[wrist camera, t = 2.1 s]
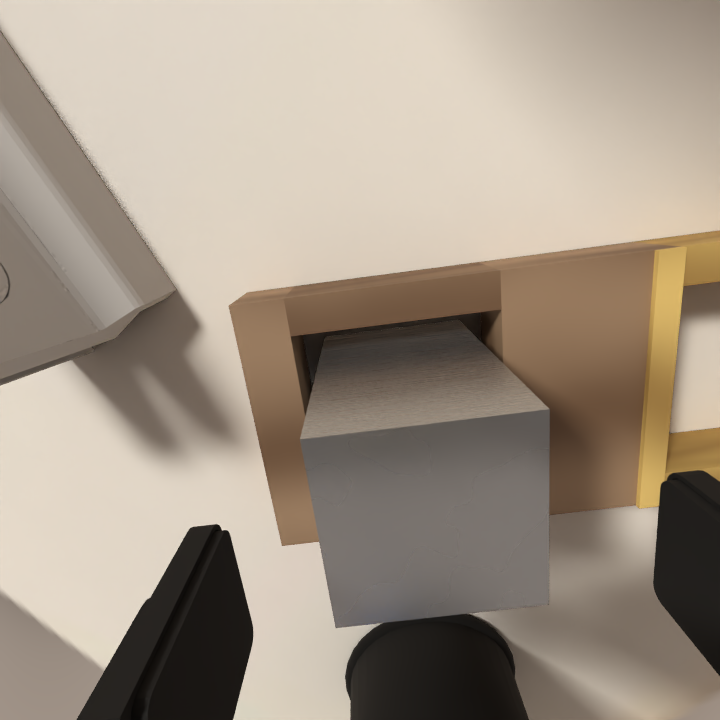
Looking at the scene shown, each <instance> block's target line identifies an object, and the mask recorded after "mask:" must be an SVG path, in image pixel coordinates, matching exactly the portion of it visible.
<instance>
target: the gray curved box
mask: <svg viewBox="0 0 720 720" xmlns="http://www.w3.org/2000/svg"><path fill="white" fill-rule="evenodd" d="M175 290H176V288H175V286H174V285H173V284H172V282H171V281H170V279H169V278H168V276H167V275H166V273H165V272H164V270H163V269H162V267H161V266H160V264H159V263H158V262H157V260H156V259H155V257H154V256H153V254H152V253H151V251H150V250H149V248H148V247H147V245H146V244H145V243H144V241H143V240H142V238H141V237H140V235H139V234H138V232H137V231H136V229H135V228H134V226H133V225H132V223H131V222H130V221H129V219H128V218H127V216H126V215H125V213H124V212H123V210H122V209H121V207H120V206H119V204H118V203H117V202H116V200H115V199H114V197H113V196H112V194H111V193H110V191H109V190H108V188H107V187H106V185H105V184H104V183H103V181H102V180H101V178H100V177H99V175H98V174H97V172H96V171H95V169H94V168H93V166H92V165H91V163H90V162H89V161H88V159H87V158H86V156H85V155H84V153H83V152H82V150H81V149H80V147H79V146H78V144H77V143H76V142H75V140H74V139H73V137H72V136H71V134H70V133H69V131H68V130H67V128H66V127H65V125H64V124H63V122H62V121H61V120H60V118H59V117H58V115H57V114H56V112H55V111H54V109H53V108H52V106H51V105H50V103H49V102H48V101H47V99H46V98H45V96H44V95H43V93H42V92H41V90H40V89H39V87H38V86H37V84H36V83H35V81H34V80H33V79H32V77H31V76H30V74H29V73H28V71H27V70H26V68H25V67H24V65H23V64H22V62H21V61H20V60H19V58H18V57H17V55H16V54H15V52H14V51H13V49H12V48H11V46H10V45H9V43H8V42H7V41H6V39H5V38H4V36H3V35H2V33H1V32H0V385H3V384H6V383H9V382H11V381H14V380H17V379H19V378H22V377H25V376H28V375H30V374H33V373H36V372H39V371H41V370H44V369H47V368H50V367H52V366H55V365H58V364H61V363H63V362H66V361H69V360H72V359H74V358H77V357H80V356H83V355H85V354H88V353H91V352H93V351H94V349H93V348H92V346H95V345H98V344H101V343H104V342H107V341H109V340H112V339H115V338H116V337H117V336H118V335H119V334H120V333H121V332H122V331H123V330H124V329H125V327H126V326H127V325H128V324H129V323H130V322H131V321H132V320H133V319H134V318H135V317H136V315H137V314H138V313H139V312H141V311H142V310H144V309H146V308H148V307H150V306H152V305H154V304H156V303H158V302H160V301H162V300H164V299H166V298H168V297H169V296H170V295H171V294H172V293H173V292H174V291H175Z"/></svg>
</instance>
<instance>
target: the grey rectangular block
mask: <svg viewBox="0 0 720 720" xmlns="http://www.w3.org/2000/svg"><path fill="white" fill-rule="evenodd" d="M300 443H301V448H302V453H303V458H304V464H305V469H306V474H307V479H308V485H309V490H310V495H311V500H312V506H313V511H314V516H315V521H316V527H317V532H318V537H319V543H320V548H321V553H322V558H323V564H324V569H325V574H326V579H327V585H328V590H329V595H330V600H331V606H332V611H333V616H334V621H335V627H336V628H340V627H349V626H358V625H368V624H377V623H386V622H395V621H404V620H413V619H422V618H431V617H440V616H450V615H459V614H468V613H477V612H486V611H495V610H504V609H513V608H523V607H532V606H541V605H549V444H550V409H549V408H548V407H547V406H546V405H545V404H544V403H543V402H542V401H541V400H540V399H539V398H538V397H537V396H536V395H535V394H534V393H533V392H532V391H531V390H530V389H529V388H528V387H527V386H526V385H525V384H524V383H523V382H522V381H521V380H520V379H519V378H518V377H516V376H515V375H514V374H513V373H512V372H511V371H510V370H509V369H508V368H507V367H506V366H505V365H504V364H503V363H502V362H501V361H500V360H499V359H498V358H497V357H496V356H495V355H494V354H493V353H492V352H491V351H490V350H489V349H488V348H487V347H486V346H485V345H484V344H483V343H482V342H481V341H480V340H479V339H478V338H477V337H476V336H475V335H474V334H473V333H472V332H471V331H470V330H469V329H468V328H467V327H466V326H465V325H464V324H463V323H462V322H461V321H460V320H452V321H445V322H437V323H429V324H421V325H413V326H406V327H398V328H390V329H382V330H374V331H366V332H359V333H351V334H343V335H335V336H327V337H325V338H324V342H323V346H322V351H321V355H320V359H319V363H318V367H317V371H316V375H315V379H314V384H313V388H312V392H311V396H310V400H309V404H308V408H307V412H306V416H305V421H304V425H303V429H302V433H301V437H300Z"/></svg>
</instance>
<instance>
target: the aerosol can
mask: <svg viewBox="0 0 720 720" xmlns="http://www.w3.org/2000/svg"><path fill="white" fill-rule="evenodd" d="M345 679H346V688H347V692H348V695H349V697H350V700H351V720H529V719H528V716H527V713H526V710H525V707H524V704H523V701H522V698H521V696H520V693H519V690H518V687H517V684H516V681H515V665H514V661H513V656H512V653H511V651H510V649H509V647H508V645H507V643H506V642H505V641H504V639H503V638H502V637H501V636H500V635H499V634H498V633H497V632H496V631H495V630H494V629H493V628H491V627H490V626H489V625H487V624H486V623H484V622H483V621H480V620H478V619H476V618H474V617H472V616H469V615H465V614H459V615H450V616H440V617H431V618H422V619H413V620H404V621H395V622H386V623H382V624H380V625H379V626H377V627H375V628H374V629H372V630H371V631H370V632H369V633H368V634H367V635H366V636H364V637H363V638H362V639H361V641H360V642H359V643H358V644H357V646H356V647H355V648H354V650H353V652H352V654H351V656H350V659H349V661H348V664H347V669H346V675H345Z"/></svg>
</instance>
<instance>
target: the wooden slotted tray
mask: <svg viewBox="0 0 720 720" xmlns="http://www.w3.org/2000/svg"><path fill="white" fill-rule="evenodd" d="M719 281H720V231H713V232H705V233H698V234H690V235H682V236H675V237H667V238H660V239H652V240H644V241H637V242H629V243H621V244H614V245H606V246H599V247H591V248H583V249H576V250H568V251H560V252H553V253H545V254H538V255H530V256H522V257H515V258H507V259H500V260H492V261H484V262H477V263H469V264H461V265H454V266H446V267H439V268H431V269H423V270H416V271H408V272H400V273H393V274H385V275H378V276H370V277H362V278H355V279H347V280H340V281H332V282H324V283H317V284H309V285H301V286H294V287H286V288H279V289H271V290H263V291H256V292H248V293H246V294H245V295H243V296H242V297H240V298H239V299H238V300H236V301H235V302H233V303H232V304H231V305H229V309H230V314H231V318H232V323H233V327H234V332H235V336H236V341H237V345H238V350H239V354H240V359H241V363H242V368H243V372H244V377H245V381H246V386H247V390H248V395H249V399H250V404H251V408H252V413H253V417H254V422H255V426H256V431H257V435H258V440H259V444H260V449H261V453H262V458H263V462H264V467H265V471H266V476H267V480H268V485H269V489H270V494H271V498H272V503H273V507H274V512H275V516H276V521H277V525H278V530H279V534H280V539H281V543H282V546H285V545H294V544H303V543H311V542H319V537H318V532H317V527H316V521H315V516H314V511H313V506H312V500H311V495H310V490H309V485H308V479H307V474H306V469H305V464H304V458H303V453H302V448H301V443H300V437H301V433H302V429H303V425H304V421H305V416H306V412H307V408H308V404H309V400H310V396H311V392H312V386H311V380H310V374H309V369H308V363H307V357H306V351H305V346H304V340H303V335H306V334H314V333H321V332H329V331H337V330H345V329H353V328H360V327H368V326H376V325H384V324H392V323H399V322H407V321H415V320H423V319H431V318H438V317H446V316H454V315H462V314H470V313H477V312H480V313H481V335H482V343H483V344H484V345H485V346H486V347H487V348H488V349H489V350H490V351H491V352H492V353H493V354H494V355H495V356H496V357H497V358H498V359H499V360H500V361H501V362H502V363H503V364H504V365H505V366H506V367H507V368H508V369H509V370H510V371H511V372H512V373H513V374H514V375H515V376H516V377H518V378H519V379H520V380H521V381H522V382H523V383H524V384H525V385H526V386H527V387H528V388H529V389H530V390H531V391H532V392H533V393H534V394H535V395H536V396H537V397H538V398H539V399H540V400H541V401H542V402H543V403H544V404H545V405H546V406H547V407H548V408H549V409H550V444H549V515H554V514H563V513H572V512H580V511H589V510H598V509H606V508H615V507H624V506H632V505H636V506H637V507H638V508H639V509H640V508H648V507H657V506H659V499H660V487H661V484H662V482H664V481H667V477H668V476H669V475H670V474H672V473H676V472H685V471H694V470H703V471H705V472H707V473H708V474H710V475H711V476H713V477H714V478H716V479H717V480H718V481H720V428H713V429H705V430H696V431H688V432H680V433H671V434H669V428H670V418H671V408H672V397H673V387H674V376H675V366H676V356H677V345H678V335H679V325H680V314H681V304H682V294H683V286H688V285H696V284H704V283H711V282H719Z"/></svg>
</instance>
